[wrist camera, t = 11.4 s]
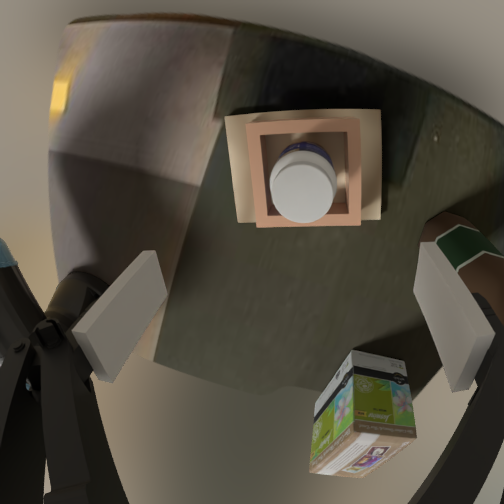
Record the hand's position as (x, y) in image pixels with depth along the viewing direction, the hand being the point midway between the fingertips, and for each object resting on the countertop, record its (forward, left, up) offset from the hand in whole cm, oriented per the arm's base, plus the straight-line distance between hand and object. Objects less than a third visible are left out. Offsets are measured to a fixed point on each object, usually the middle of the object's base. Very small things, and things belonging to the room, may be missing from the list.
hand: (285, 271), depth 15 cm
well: (+1, +1, -20) cm, 20 cm away
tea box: (+9, -34, -21) cm, 41 cm away
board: (+1, +1, -21) cm, 21 cm away
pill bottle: (+1, +1, -20) cm, 20 cm away
